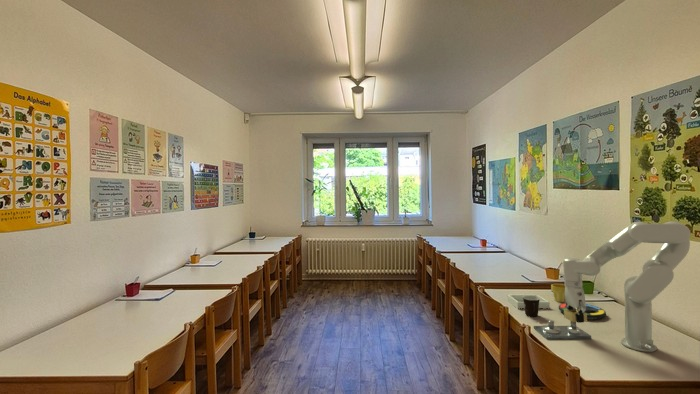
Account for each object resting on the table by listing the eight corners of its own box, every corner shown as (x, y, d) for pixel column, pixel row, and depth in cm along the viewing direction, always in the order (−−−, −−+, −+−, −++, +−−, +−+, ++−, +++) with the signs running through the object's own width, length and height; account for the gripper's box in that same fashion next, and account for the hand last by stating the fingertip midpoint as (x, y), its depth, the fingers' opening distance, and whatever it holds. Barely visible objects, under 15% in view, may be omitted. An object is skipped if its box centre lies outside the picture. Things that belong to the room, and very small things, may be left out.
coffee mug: (525, 311, 211) (524, 294, 210) (541, 314, 205) (541, 297, 205) (520, 317, 202) (519, 299, 201) (536, 320, 196) (536, 302, 196)
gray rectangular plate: (591, 338, 171) (591, 335, 171) (546, 339, 172) (546, 336, 172) (575, 328, 184) (575, 325, 184) (534, 328, 185) (533, 325, 185)
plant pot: (565, 298, 233) (564, 283, 233) (573, 303, 223) (573, 287, 223) (548, 298, 234) (548, 283, 234) (556, 303, 224) (555, 287, 224)
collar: (587, 321, 172) (586, 312, 172) (572, 321, 172) (571, 313, 172) (578, 316, 179) (578, 308, 179) (564, 317, 179) (563, 308, 179)
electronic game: (614, 322, 191) (614, 313, 191) (567, 320, 196) (567, 311, 196) (594, 308, 214) (594, 300, 214) (552, 306, 218) (552, 299, 218)
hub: (563, 336, 175) (563, 324, 175) (547, 336, 175) (546, 324, 175) (555, 329, 183) (555, 318, 183) (539, 329, 183) (539, 318, 183)
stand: (582, 336, 173) (581, 323, 173) (571, 337, 173) (570, 323, 173) (575, 332, 178) (575, 319, 178) (565, 332, 179) (565, 319, 179)
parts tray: (549, 308, 214) (549, 302, 214) (517, 308, 215) (517, 302, 215) (536, 300, 230) (536, 294, 230) (507, 300, 231) (507, 294, 231)
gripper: (592, 287, 166) (594, 325, 166) (571, 279, 184) (573, 313, 184) (575, 288, 167) (578, 326, 167) (556, 279, 184) (558, 314, 184)
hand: (575, 319), depth 175 cm, fingers closed on collar, 7 cm apart
